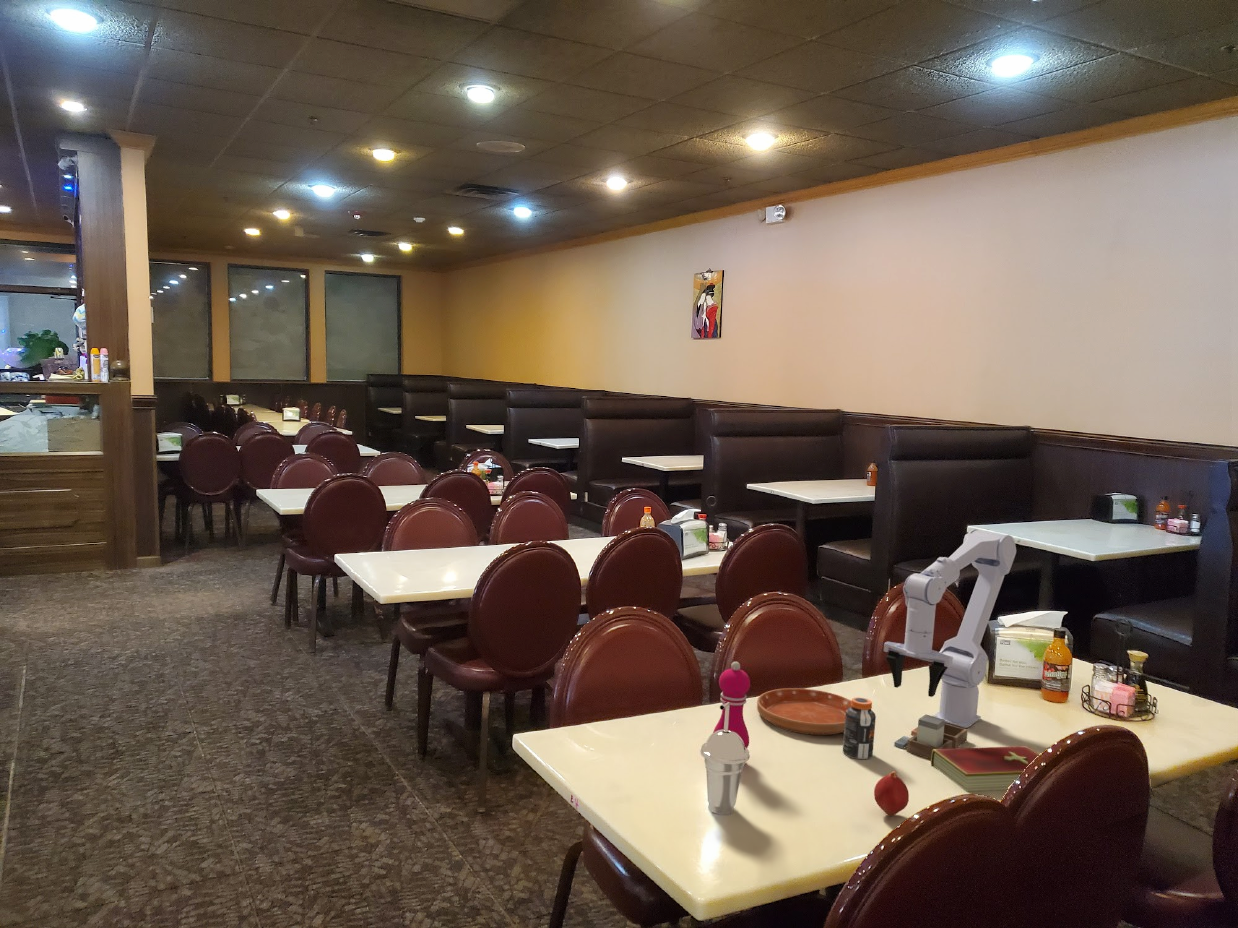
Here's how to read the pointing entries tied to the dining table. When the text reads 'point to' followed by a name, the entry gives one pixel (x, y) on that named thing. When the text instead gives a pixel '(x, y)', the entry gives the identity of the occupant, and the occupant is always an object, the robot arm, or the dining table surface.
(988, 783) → the hardcover book
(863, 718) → the pill bottle
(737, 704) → the pepper mill
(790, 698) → the saucer
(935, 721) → the plug
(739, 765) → the cup with straw
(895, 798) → the onion
